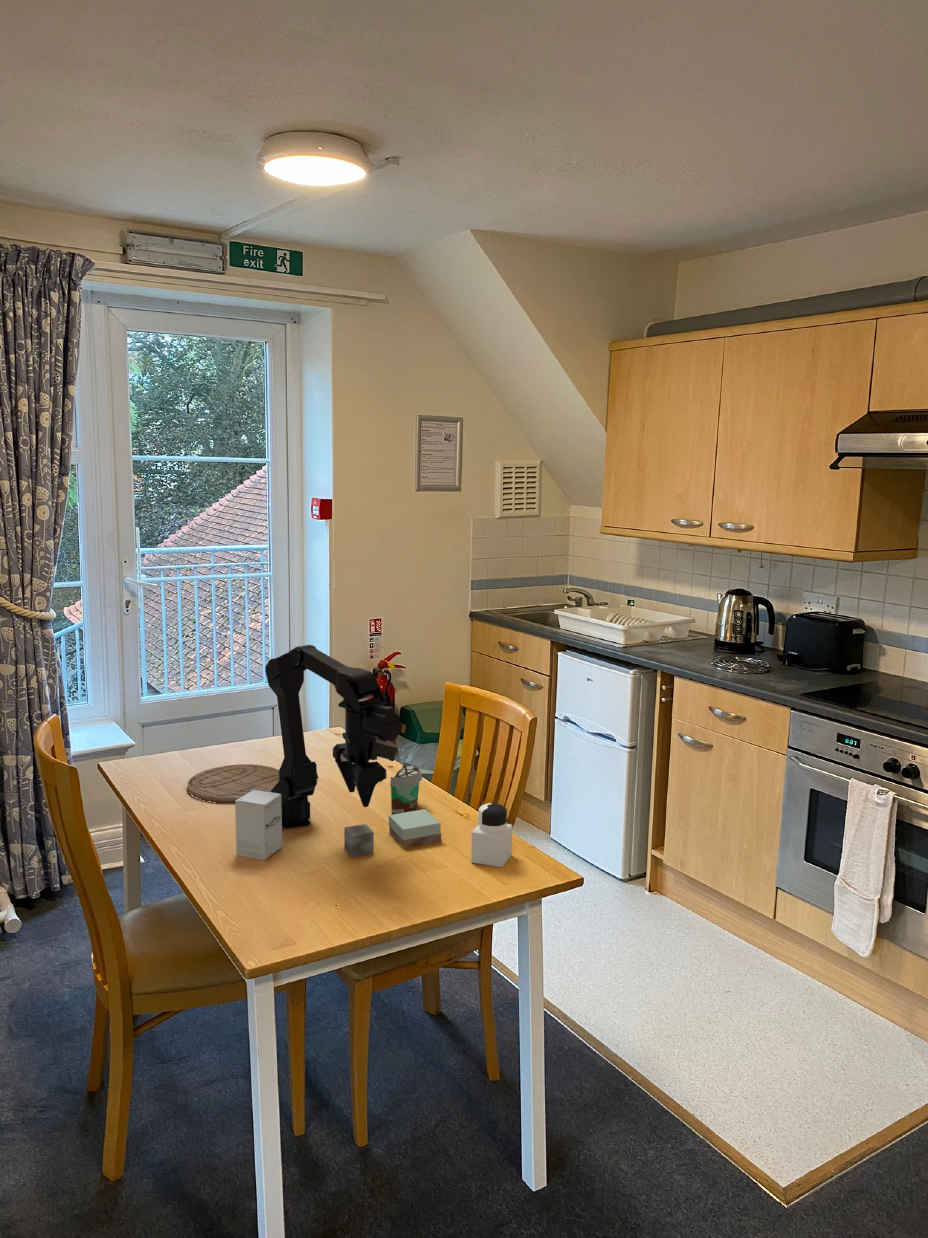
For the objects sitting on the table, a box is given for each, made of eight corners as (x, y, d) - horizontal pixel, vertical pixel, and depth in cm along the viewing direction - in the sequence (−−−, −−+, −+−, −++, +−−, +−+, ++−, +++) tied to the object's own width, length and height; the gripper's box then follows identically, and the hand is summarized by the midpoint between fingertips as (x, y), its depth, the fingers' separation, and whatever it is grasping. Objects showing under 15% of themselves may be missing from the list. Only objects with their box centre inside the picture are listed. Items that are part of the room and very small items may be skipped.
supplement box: (265, 861, 199) (263, 805, 196) (235, 855, 201) (233, 800, 199) (283, 848, 205) (282, 793, 203) (254, 842, 208) (253, 788, 206)
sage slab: (403, 840, 206) (403, 829, 205) (388, 825, 214) (388, 815, 213) (440, 833, 210) (440, 823, 209) (424, 819, 218) (424, 809, 217)
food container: (414, 820, 222) (415, 780, 220) (389, 818, 223) (390, 778, 221) (427, 801, 234) (427, 763, 232) (403, 799, 235) (403, 761, 233)
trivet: (306, 783, 246) (306, 776, 246) (236, 813, 225) (236, 805, 225) (238, 765, 259) (238, 758, 259) (166, 791, 239) (166, 784, 238)
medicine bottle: (512, 855, 204) (513, 803, 202) (502, 868, 197) (504, 814, 195) (481, 850, 206) (482, 798, 204) (470, 863, 200) (471, 810, 197)
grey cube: (351, 857, 201) (351, 836, 200) (344, 848, 206) (344, 827, 205) (373, 854, 203) (373, 832, 203) (366, 845, 208) (366, 824, 207)
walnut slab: (403, 850, 207) (403, 840, 206) (389, 835, 215) (389, 825, 214) (441, 843, 210) (441, 833, 210) (425, 829, 218) (425, 819, 218)
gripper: (410, 738, 195) (409, 809, 198) (379, 714, 211) (378, 780, 214) (359, 744, 190) (359, 817, 193) (331, 720, 207) (332, 787, 210)
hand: (358, 799), depth 203 cm, fingers open, 9 cm apart
